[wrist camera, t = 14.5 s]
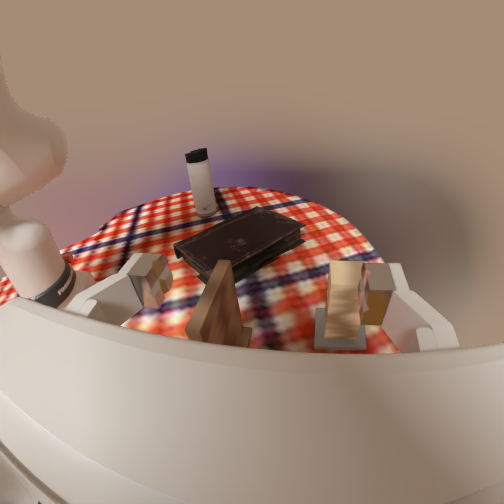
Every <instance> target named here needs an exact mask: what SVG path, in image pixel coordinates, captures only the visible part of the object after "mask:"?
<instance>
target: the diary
mask: <svg viewBox="0 0 504 504" xmlns="http://www.w3.org/2000/svg"><path fill="white" fill-rule="evenodd" d="M304 226H305V224H303V223H300V222H298V221H296V220H293V219H291V218H289V217H286V216H283V215H281V214H278V213H275V212H272V211H269V210H266V209H263V208H260V207H254V208H252V209H250V210H248V211H246V212H244V213H242V214H240V215H238V216H235V217H233V218H231V219H228V220H226V221H223V222H221V223H218V224H216V225H214V226H212V227H210V228H208V229H206V230H204V231H202V232H200V233H198V234H196V235H194V236H191V237H189V238H187V239H184V240H182V241H180V242H177V243H175V244H173V246H174V250H175V254H176V256H177V259H179V258H181V257H183V258H184V260H186V262H187V263H188V264H189V265H191V266H192V267H193V268H194V269H195V270H196V271H197V272H198V273H200V275H199V276H197V277H198V278H199V279H200V280H201V281H203V282H204V283H205V284H207V282H208V280H209V278H210V276H211V274H212V272H213V270H214V268H215V266H216V264H217V262H218V260H230V261H231V266H232V272H233V277H234V283H237V282H239V281H240V280H242V279H244V278H246V277H247V276H249V275H250V274H252V273H254V272H255V271H257V270H259V269H260V268H262V267H263V266H265V265H267V264H269V263H271V262H272V261H274V260H276V259H277V258H276V257H277V256H279V255H281V254H283V253H284V252H287V251H289V250H291V249H294V248H295V247H297V246H299V245H301V244H302V243H304V242H306V241H305V240H303V239H300V228H302V227H304ZM274 258H275V259H274ZM278 258H279V257H278ZM184 260H183V261H184ZM181 262H182V261H181Z"/></svg>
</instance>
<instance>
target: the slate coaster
mask: <svg viewBox="0 0 504 504" xmlns="http://www.w3.org/2000/svg"><path fill="white" fill-rule="evenodd" d="M324 321H325V308H316V320H315V337H314V349H317V350H366V337H365V327H364V325H361V324H360V327H359V331H358V335H357V338H356V340H353V339H324Z"/></svg>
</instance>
